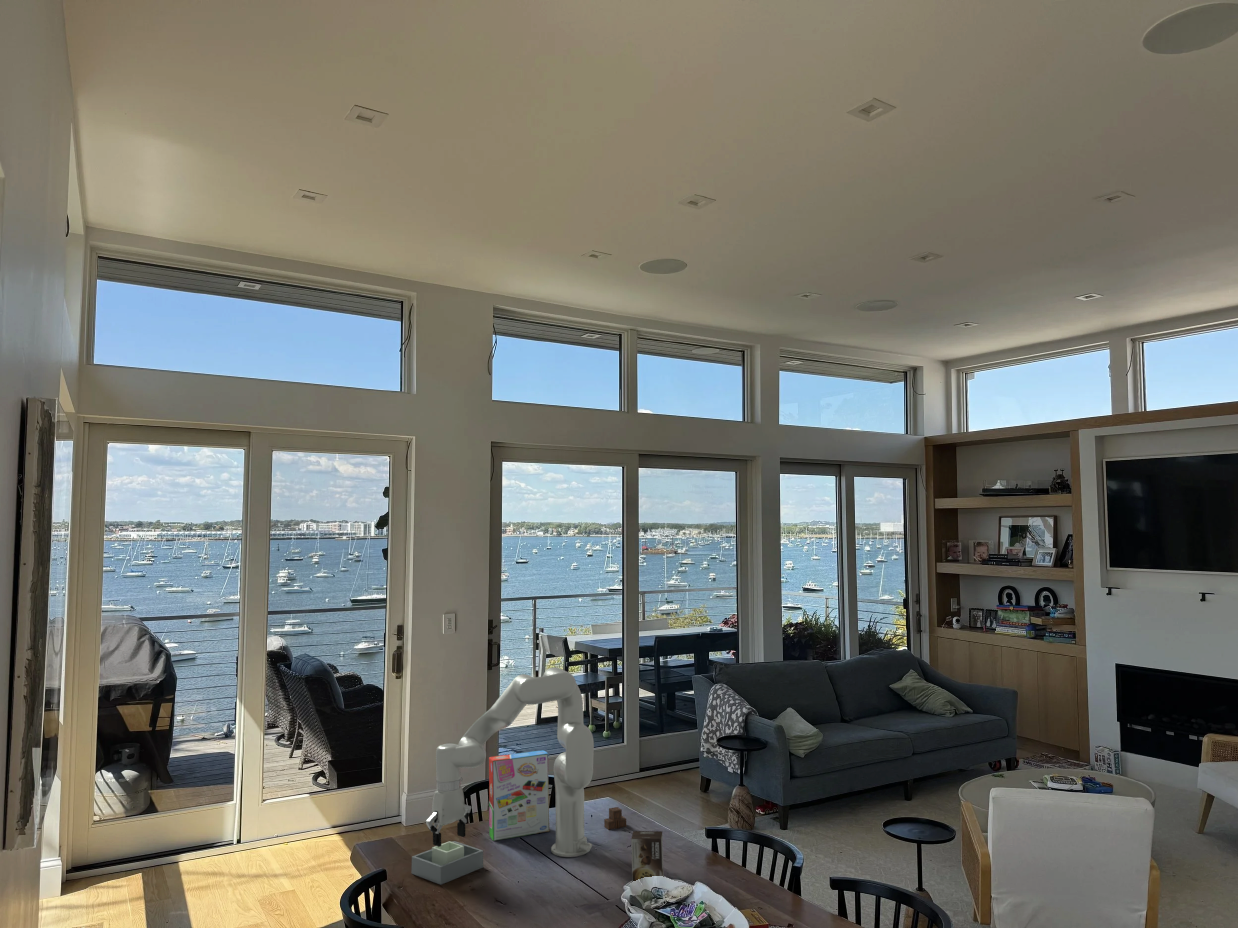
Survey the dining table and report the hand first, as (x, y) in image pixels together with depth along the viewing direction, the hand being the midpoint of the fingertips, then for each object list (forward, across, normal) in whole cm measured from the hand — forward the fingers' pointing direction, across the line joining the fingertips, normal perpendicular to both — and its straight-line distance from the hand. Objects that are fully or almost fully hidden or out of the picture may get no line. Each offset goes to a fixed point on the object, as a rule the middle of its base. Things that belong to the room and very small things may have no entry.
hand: (449, 840), depth 264 cm
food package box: (+10, -25, +59) cm, 65 cm away
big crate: (+9, +1, 0) cm, 9 cm away
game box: (+10, -36, -6) cm, 38 cm away
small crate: (+8, 0, 0) cm, 8 cm away
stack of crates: (+11, -62, +18) cm, 65 cm away
